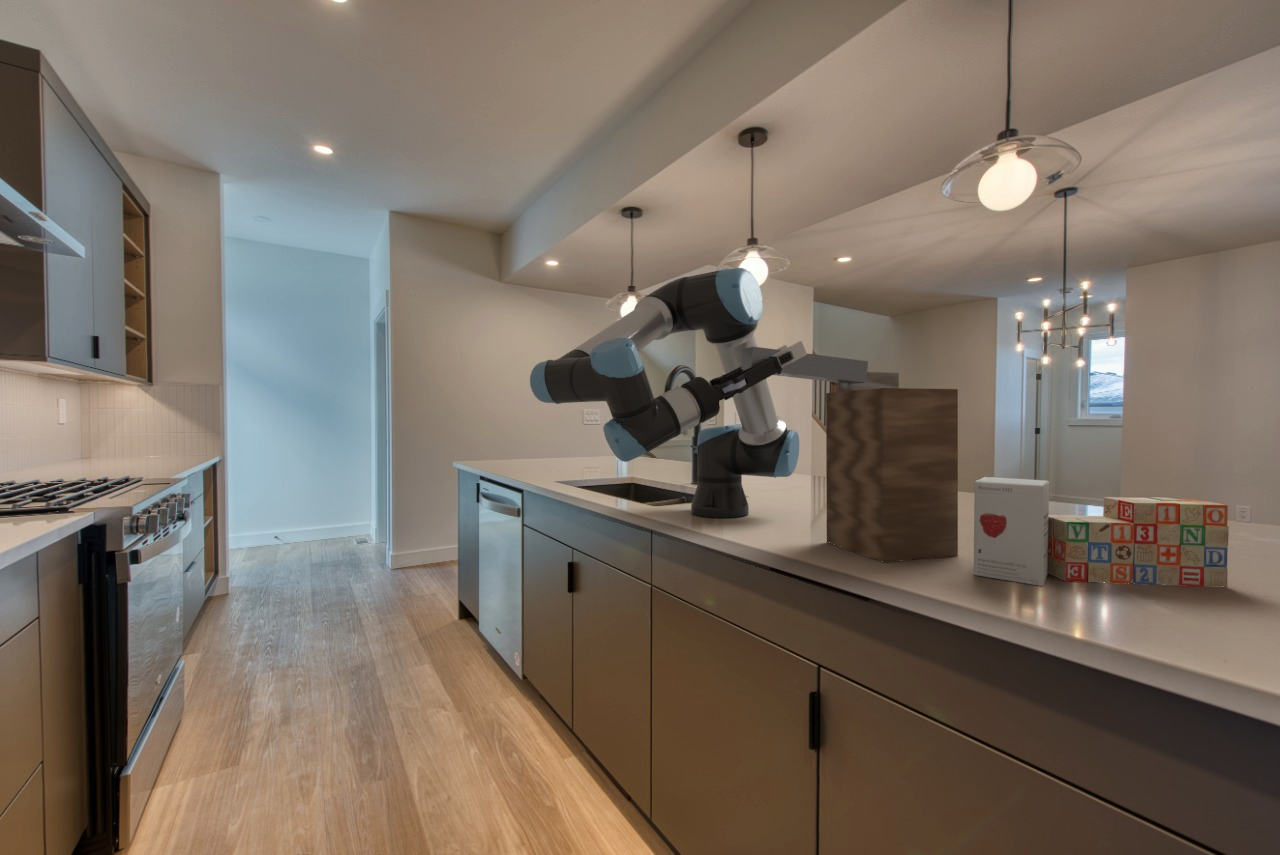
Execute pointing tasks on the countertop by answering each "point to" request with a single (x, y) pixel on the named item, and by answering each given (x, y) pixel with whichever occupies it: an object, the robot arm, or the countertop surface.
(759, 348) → the gray block
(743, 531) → the countertop surface
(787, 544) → the countertop surface
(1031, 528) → the supplement box
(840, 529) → the brown wooden tall block
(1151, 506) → the stack of blocks
